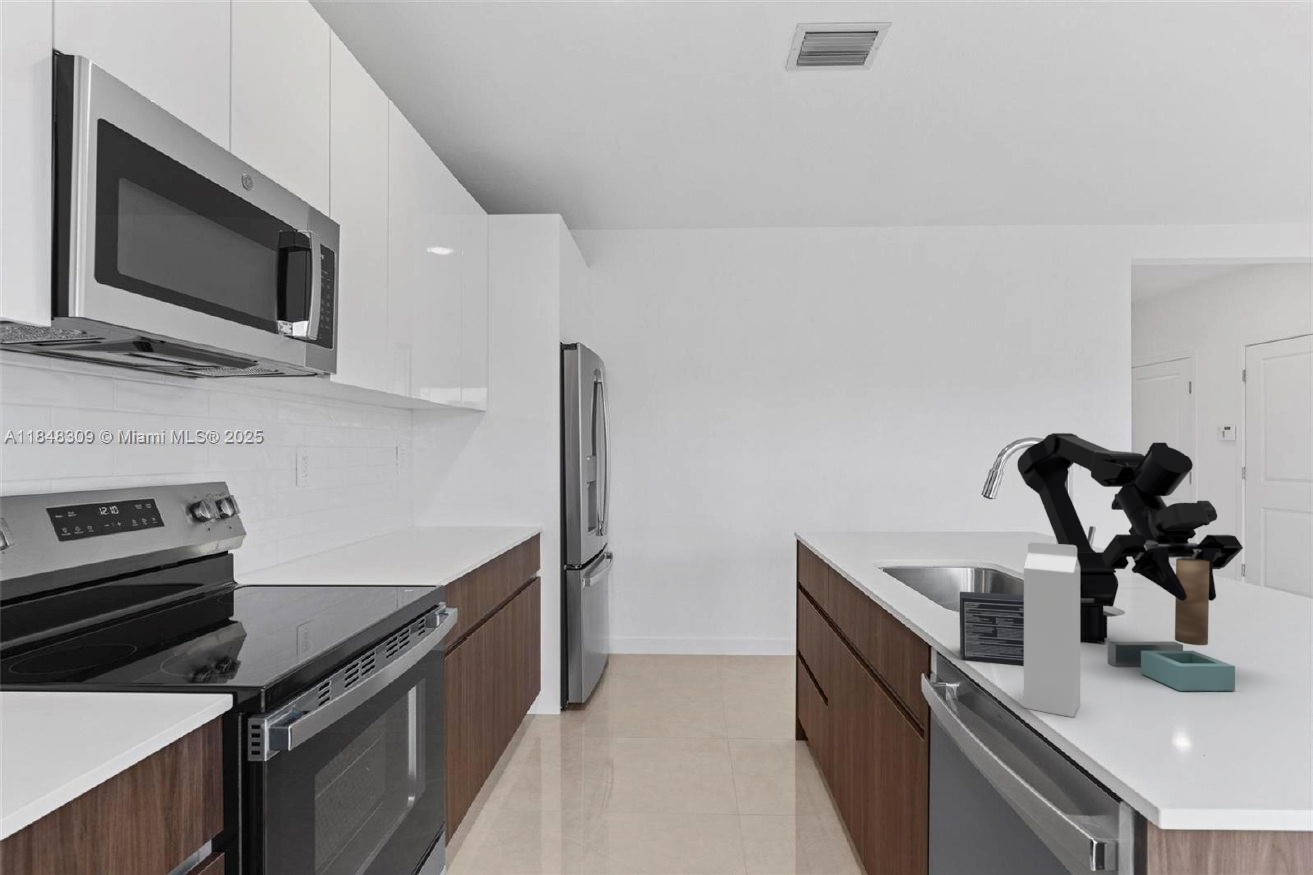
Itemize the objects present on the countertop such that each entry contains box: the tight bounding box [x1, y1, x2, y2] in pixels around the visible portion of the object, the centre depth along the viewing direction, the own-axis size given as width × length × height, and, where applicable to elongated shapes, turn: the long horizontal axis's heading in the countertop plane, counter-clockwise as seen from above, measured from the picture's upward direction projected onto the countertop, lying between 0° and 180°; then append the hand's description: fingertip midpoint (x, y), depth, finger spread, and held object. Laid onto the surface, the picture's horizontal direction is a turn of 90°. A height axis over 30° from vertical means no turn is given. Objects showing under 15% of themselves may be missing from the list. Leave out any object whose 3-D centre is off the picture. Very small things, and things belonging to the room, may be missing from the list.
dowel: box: [1174, 558, 1210, 646], centre depth 112 cm, size 4×4×12 cm
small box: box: [959, 591, 1024, 666], centre depth 125 cm, size 11×6×10 cm, turn 71°
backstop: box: [1107, 641, 1184, 668], centre depth 122 cm, size 2×11×4 cm, turn 92°
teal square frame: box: [1140, 650, 1236, 692], centre depth 113 cm, size 8×8×4 cm
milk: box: [1023, 541, 1081, 718], centre depth 102 cm, size 6×6×22 cm
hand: (1198, 599), depth 110 cm, fingers closed on dowel, 4 cm apart
